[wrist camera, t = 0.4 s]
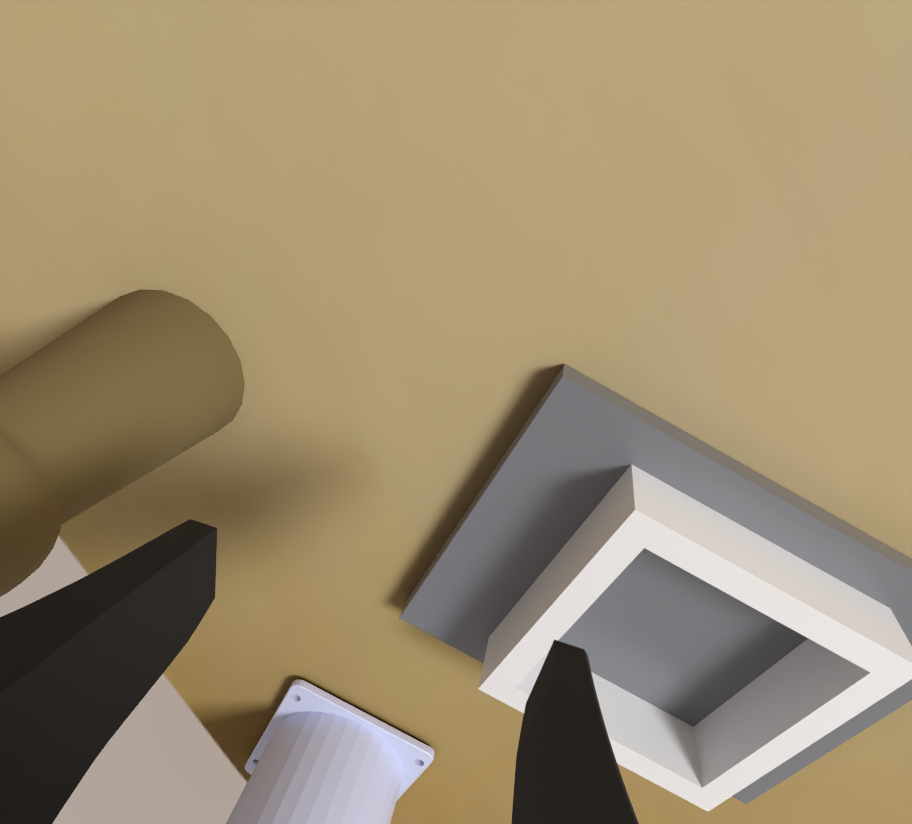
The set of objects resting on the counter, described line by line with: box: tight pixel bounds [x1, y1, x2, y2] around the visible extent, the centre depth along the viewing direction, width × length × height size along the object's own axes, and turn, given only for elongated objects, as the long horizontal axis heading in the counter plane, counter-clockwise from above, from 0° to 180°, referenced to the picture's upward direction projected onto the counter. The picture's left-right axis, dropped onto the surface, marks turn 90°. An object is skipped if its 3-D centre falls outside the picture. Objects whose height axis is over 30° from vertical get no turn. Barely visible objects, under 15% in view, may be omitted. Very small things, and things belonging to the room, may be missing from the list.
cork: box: [0, 290, 244, 596], centre depth 18 cm, size 6×6×11 cm
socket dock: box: [400, 364, 912, 811], centre depth 22 cm, size 13×17×4 cm
